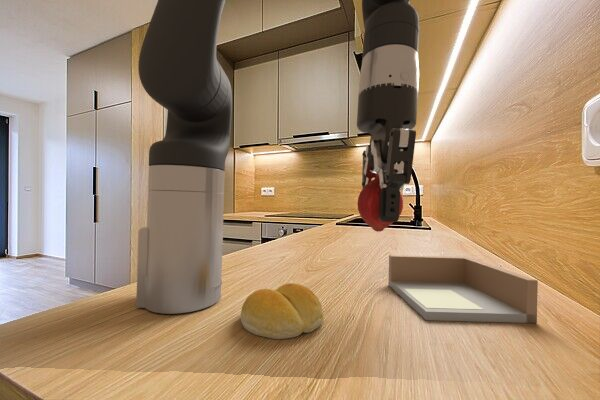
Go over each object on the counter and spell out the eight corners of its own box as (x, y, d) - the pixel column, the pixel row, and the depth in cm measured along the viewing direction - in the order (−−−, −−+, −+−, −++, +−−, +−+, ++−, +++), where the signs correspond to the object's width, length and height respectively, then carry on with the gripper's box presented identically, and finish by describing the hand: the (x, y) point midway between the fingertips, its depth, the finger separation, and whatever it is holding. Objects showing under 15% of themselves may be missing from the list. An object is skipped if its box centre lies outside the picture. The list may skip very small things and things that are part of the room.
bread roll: (231, 317, 31) (232, 282, 31) (298, 303, 35) (298, 273, 35) (257, 353, 24) (258, 308, 24) (336, 330, 28) (337, 293, 28)
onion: (405, 236, 31) (409, 169, 31) (356, 232, 33) (359, 167, 33) (397, 231, 37) (400, 174, 37) (355, 228, 38) (358, 173, 38)
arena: (426, 320, 31) (427, 277, 31) (388, 284, 44) (389, 254, 44) (536, 323, 31) (537, 280, 31) (466, 287, 44) (466, 257, 44)
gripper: (348, 110, 42) (342, 215, 42) (374, 63, 28) (365, 222, 28) (395, 113, 42) (389, 218, 42) (445, 67, 28) (436, 226, 28)
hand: (380, 219), depth 35 cm, fingers closed on onion, 6 cm apart
